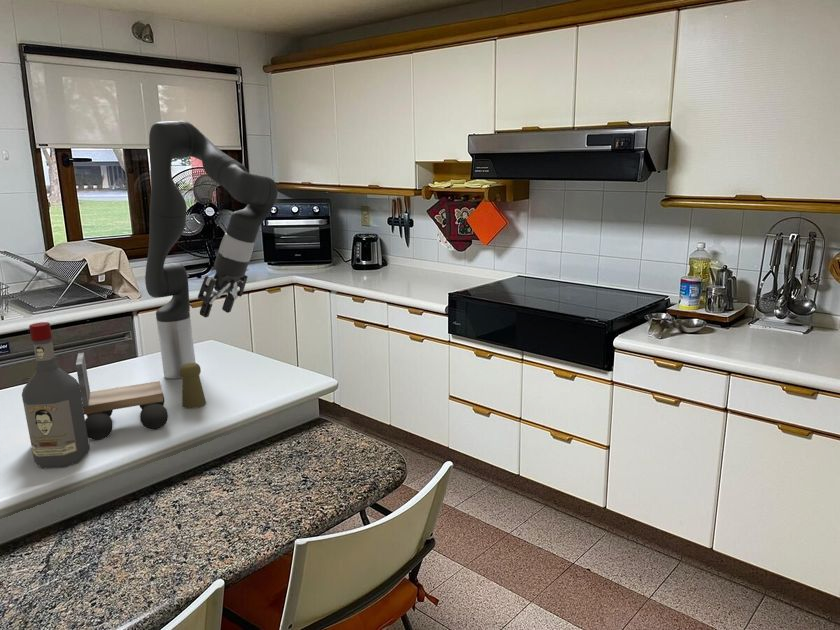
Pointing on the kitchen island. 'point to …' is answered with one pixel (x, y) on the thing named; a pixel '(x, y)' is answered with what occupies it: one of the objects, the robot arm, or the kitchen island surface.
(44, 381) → the liquor
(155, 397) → the trolley
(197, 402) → the cork
